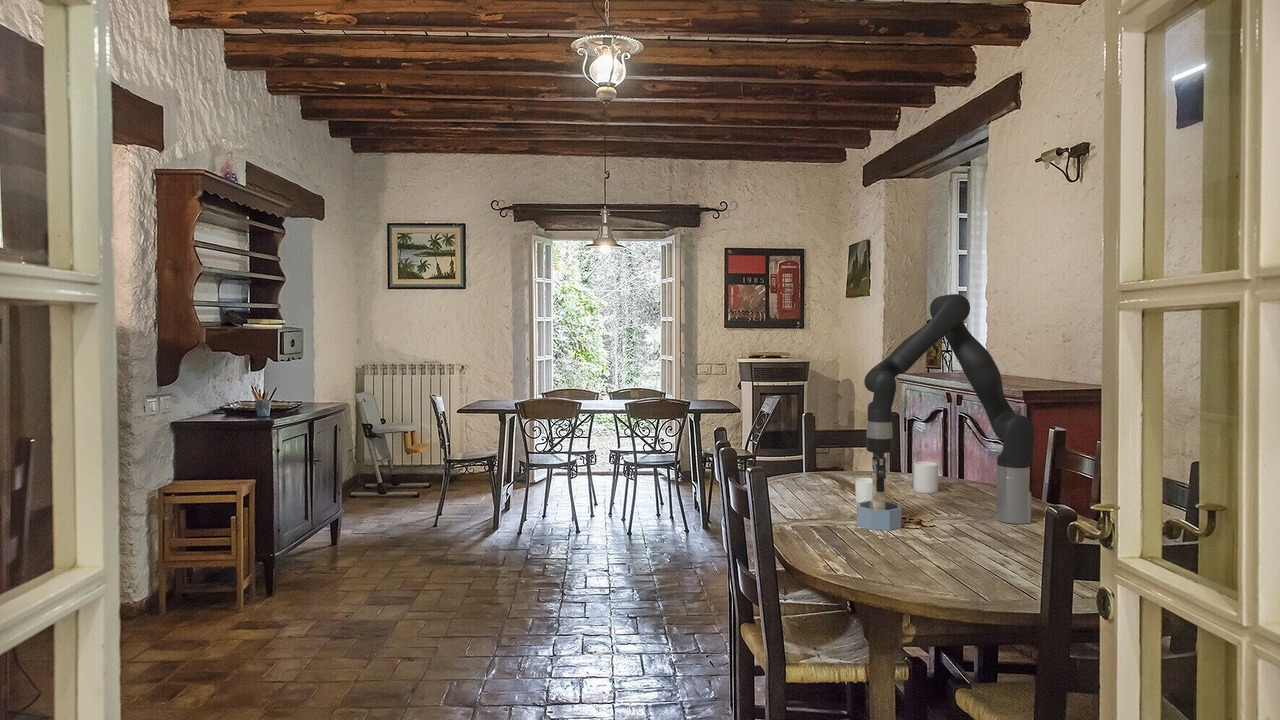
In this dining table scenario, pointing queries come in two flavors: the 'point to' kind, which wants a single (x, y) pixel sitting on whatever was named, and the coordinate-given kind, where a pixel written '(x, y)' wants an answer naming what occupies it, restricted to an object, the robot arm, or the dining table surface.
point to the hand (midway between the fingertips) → (878, 488)
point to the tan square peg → (878, 495)
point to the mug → (925, 477)
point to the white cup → (863, 489)
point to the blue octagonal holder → (879, 516)
